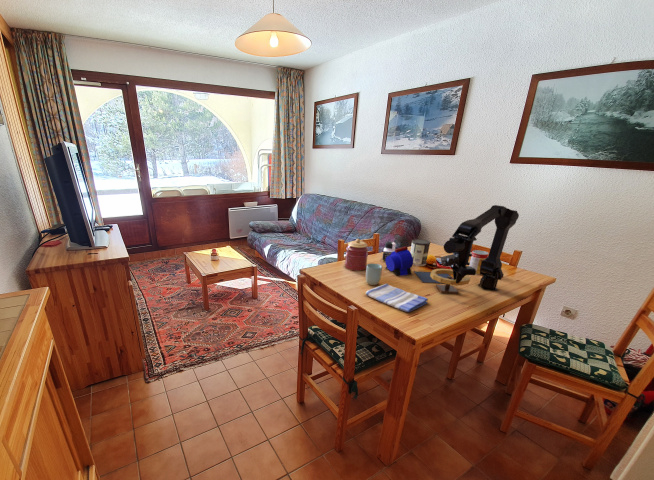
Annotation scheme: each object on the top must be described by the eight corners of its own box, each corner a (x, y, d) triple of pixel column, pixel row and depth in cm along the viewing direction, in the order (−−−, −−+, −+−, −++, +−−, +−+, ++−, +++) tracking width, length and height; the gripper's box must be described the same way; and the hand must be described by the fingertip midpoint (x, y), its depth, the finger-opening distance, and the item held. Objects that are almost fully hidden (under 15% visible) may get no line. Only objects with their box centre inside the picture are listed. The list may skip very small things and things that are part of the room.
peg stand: (451, 287, 158) (455, 273, 156) (458, 294, 151) (461, 280, 148) (435, 286, 159) (438, 273, 156) (441, 293, 152) (444, 279, 149)
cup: (380, 287, 159) (383, 269, 155) (365, 286, 160) (367, 267, 156) (379, 281, 166) (381, 264, 162) (364, 280, 167) (366, 262, 163)
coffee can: (421, 260, 198) (426, 239, 192) (428, 266, 188) (433, 243, 183) (405, 260, 198) (409, 239, 192) (411, 265, 188) (415, 243, 183)
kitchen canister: (349, 262, 195) (352, 234, 188) (369, 266, 188) (373, 238, 181) (340, 268, 185) (343, 239, 178) (361, 272, 178) (364, 242, 171)
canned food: (485, 272, 178) (491, 252, 173) (479, 275, 174) (484, 255, 169) (471, 268, 184) (476, 249, 179) (464, 271, 180) (469, 251, 175)
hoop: (460, 273, 160) (461, 269, 159) (475, 286, 144) (476, 282, 143) (426, 271, 161) (426, 268, 161) (437, 284, 146) (438, 280, 145)
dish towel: (385, 286, 159) (386, 281, 158) (429, 303, 142) (430, 298, 141) (363, 295, 150) (364, 290, 148) (407, 314, 132) (408, 308, 131)
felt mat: (446, 273, 177) (446, 272, 177) (458, 284, 162) (458, 283, 162) (414, 271, 179) (414, 271, 179) (422, 282, 164) (422, 282, 164)
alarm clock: (412, 274, 175) (417, 249, 169) (393, 276, 173) (397, 250, 167) (399, 267, 186) (403, 243, 180) (381, 269, 183) (385, 244, 178)
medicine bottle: (381, 261, 196) (384, 243, 191) (382, 258, 202) (385, 240, 197) (393, 262, 193) (396, 244, 189) (394, 259, 200) (397, 241, 195)
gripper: (437, 244, 149) (431, 274, 155) (452, 256, 132) (445, 289, 138) (462, 245, 148) (454, 275, 154) (480, 257, 130) (471, 290, 137)
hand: (455, 282), depth 145 cm, fingers closed on hoop, 2 cm apart
